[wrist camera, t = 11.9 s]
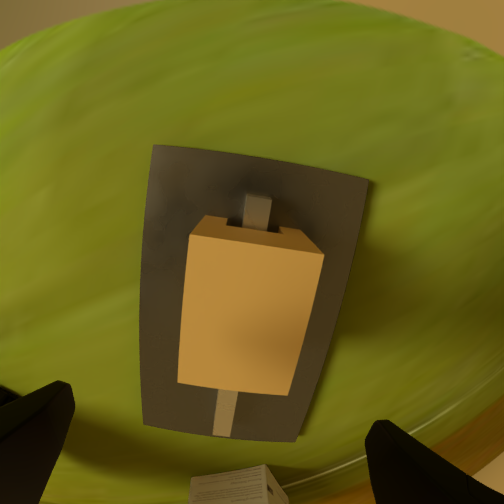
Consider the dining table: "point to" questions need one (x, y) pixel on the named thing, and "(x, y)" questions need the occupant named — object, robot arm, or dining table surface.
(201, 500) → the small box
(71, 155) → the dining table surface
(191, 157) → the plate
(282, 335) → the block
